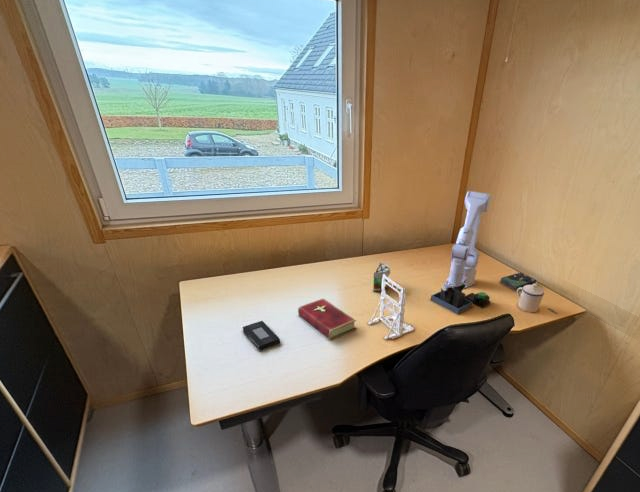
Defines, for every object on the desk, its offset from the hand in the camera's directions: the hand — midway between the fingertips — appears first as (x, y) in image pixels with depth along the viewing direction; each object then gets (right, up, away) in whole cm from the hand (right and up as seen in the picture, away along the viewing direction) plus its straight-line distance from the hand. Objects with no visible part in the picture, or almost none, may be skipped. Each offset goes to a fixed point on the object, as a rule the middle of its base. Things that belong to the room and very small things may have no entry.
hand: (451, 300), depth 157 cm
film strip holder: (-27, -11, -17) cm, 34 cm away
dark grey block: (0, -1, +1) cm, 1 cm away
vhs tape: (-74, -15, -28) cm, 80 cm away
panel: (+12, 0, +4) cm, 13 cm away
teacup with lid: (+33, -3, +3) cm, 34 cm away
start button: (+14, +1, +1) cm, 14 cm away
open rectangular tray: (0, -1, +1) cm, 2 cm away
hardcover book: (-52, -10, -17) cm, 56 cm away
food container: (-30, +6, +9) cm, 32 cm away
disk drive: (+37, +9, +22) cm, 44 cm away
